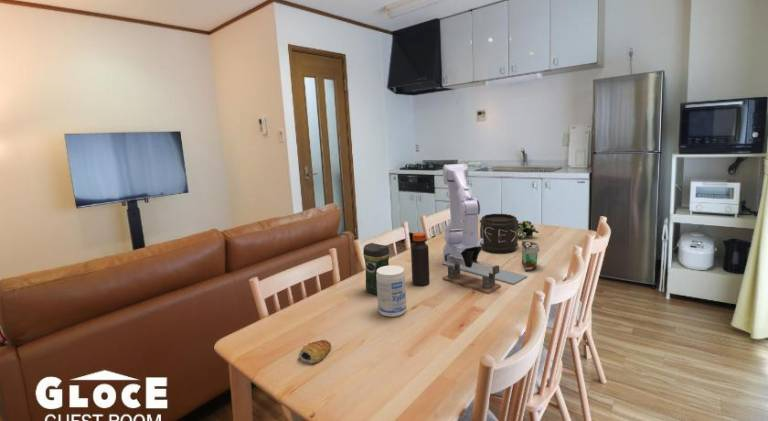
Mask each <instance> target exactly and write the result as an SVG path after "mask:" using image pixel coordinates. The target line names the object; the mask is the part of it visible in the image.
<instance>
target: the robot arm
mask: <svg viewBox="0 0 768 421" xmlns="http://www.w3.org/2000/svg"><path fill="white" fill-rule="evenodd" d="M442 176H443V178H442V179H443V180H442V181H443V183H444V185H446V186H447V189H448V195H449V197H448V198H449V211H450V214H449V215H450V222H449V223H448V224H447V225H446V226H445V228H444V242H445V244H444V246H443V249H442V250H443V251H442V253H443V255H442V256H443V261H442V265H447V266H451V267H453V268H454V264H455V263H451V262H447V261H445V255H446V254H448V253H449V254H452V255H456V256H460V257H463V259H464V263H465V266H466V267H469V268H471V265H472V260H476V261H478V258H479V255H480V252H481V250H482V246H481V245H480V244H484V241H483V239H481V238H480V237H479V215H480V213H481V203H480V201H479V199H478V198H477V197H475V195H474V191H473V190H472V188H471V186H468V183H467V182H468V181H467V179H468V176H469V165H468V164H467V163H465V162H464V163H454V164H444V165H443V167H442ZM461 266H462V265H460V267H461Z"/></svg>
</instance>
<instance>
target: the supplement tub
mask: <svg viewBox="0 0 768 421" xmlns="http://www.w3.org/2000/svg"><path fill="white" fill-rule="evenodd" d="M376 279H377V306H378V307H377V310H378V312H379V314H380V315H381V316H385V317H393V318H394V317H399V316H401V315H403V314H405V313H406V310H407V294H406V293H407V292H406V291H407V290H406V289H407V288H406V273H405V268H404V267H403V266H399V265H390V264H389V266H383V267H380V268H378V269H377V274H376Z"/></svg>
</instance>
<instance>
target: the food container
mask: <svg viewBox="0 0 768 421" xmlns="http://www.w3.org/2000/svg"><path fill="white" fill-rule="evenodd" d="M540 249H541V248H540V245H539V244H538V243H537V242H535V241H530V240H521V264H522V267H523V270H524V272H533V271H535V270H536V269H537V262H538V254H539V252H540V251H541V250H540Z"/></svg>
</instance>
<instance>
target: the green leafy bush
mask: <svg viewBox="0 0 768 421" xmlns="http://www.w3.org/2000/svg"><path fill="white" fill-rule="evenodd" d="M534 226H535V225H534V224H532V222H531V221H529V220H523V221H522V222H519V223H518V238H521V241H524V238H525V237H529V238H530V236H531V237H533V233H537V234H539V231H538V230H536V227H534ZM521 236H522V237H521Z"/></svg>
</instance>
